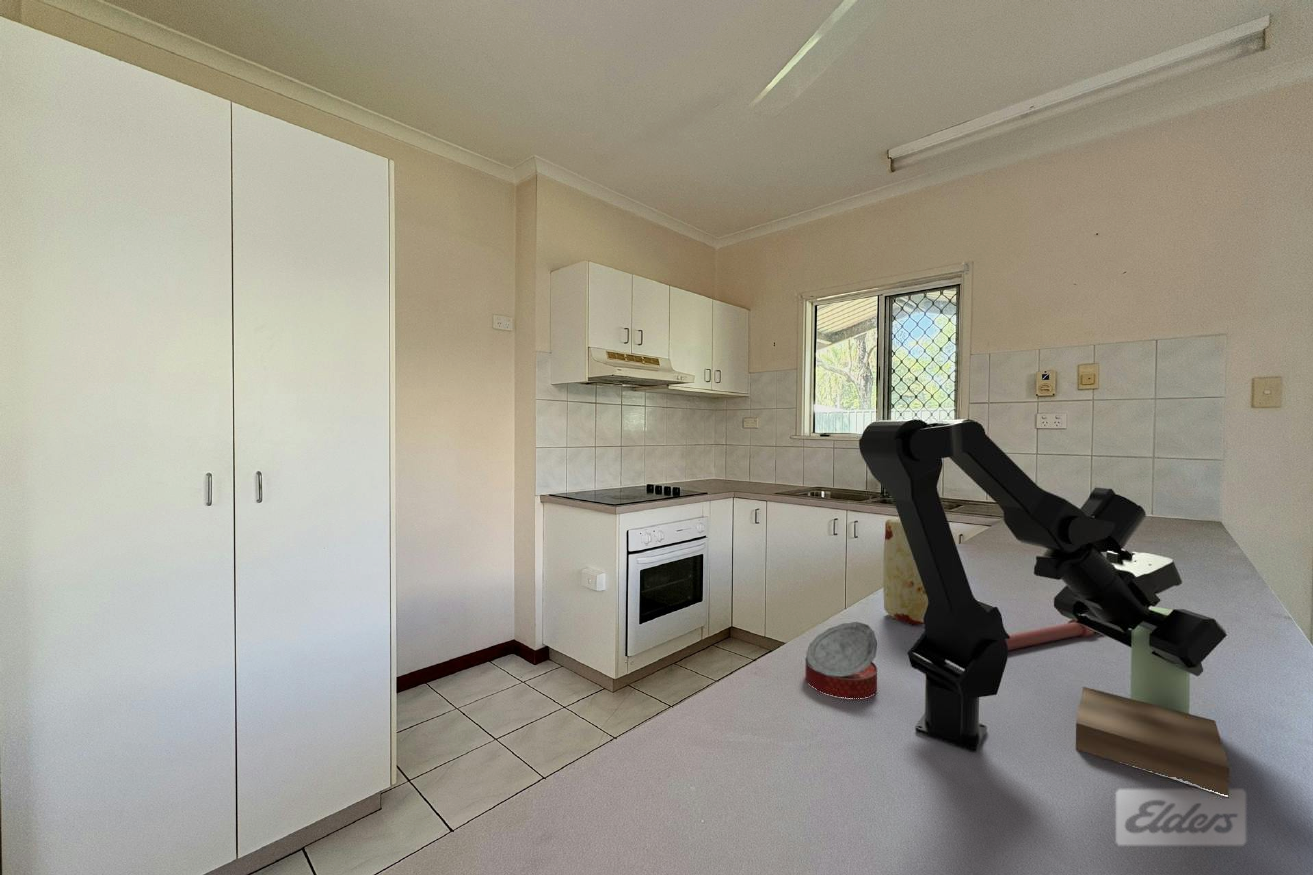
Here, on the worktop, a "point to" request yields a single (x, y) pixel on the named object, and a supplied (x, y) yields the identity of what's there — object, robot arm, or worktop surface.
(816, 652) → the canned food
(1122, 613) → the robot arm
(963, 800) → the worktop surface
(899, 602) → the food model
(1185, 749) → the walnut base
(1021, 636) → the red collared rod
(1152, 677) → the green cylinder
